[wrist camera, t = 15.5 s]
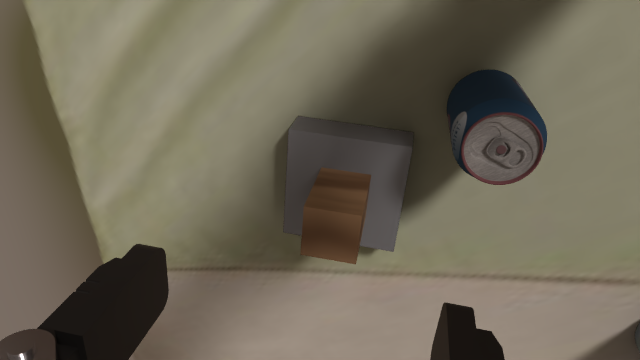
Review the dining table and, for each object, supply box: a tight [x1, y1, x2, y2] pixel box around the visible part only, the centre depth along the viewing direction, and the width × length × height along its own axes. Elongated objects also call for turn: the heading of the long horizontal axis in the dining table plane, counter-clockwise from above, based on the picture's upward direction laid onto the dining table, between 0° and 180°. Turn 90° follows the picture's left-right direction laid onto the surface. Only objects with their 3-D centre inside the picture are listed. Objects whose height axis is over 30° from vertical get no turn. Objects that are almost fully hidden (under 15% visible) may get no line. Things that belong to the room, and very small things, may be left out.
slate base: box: [283, 116, 414, 252], centre depth 50 cm, size 12×12×4 cm
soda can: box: [447, 70, 547, 185], centre depth 40 cm, size 7×7×12 cm
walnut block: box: [301, 167, 371, 264], centre depth 45 cm, size 5×5×8 cm
